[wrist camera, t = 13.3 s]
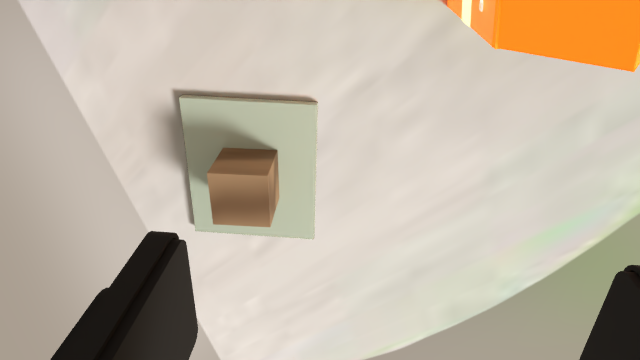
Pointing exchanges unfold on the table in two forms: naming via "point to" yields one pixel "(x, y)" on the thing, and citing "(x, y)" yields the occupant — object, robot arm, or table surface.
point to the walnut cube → (244, 187)
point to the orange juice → (559, 28)
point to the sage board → (254, 133)
